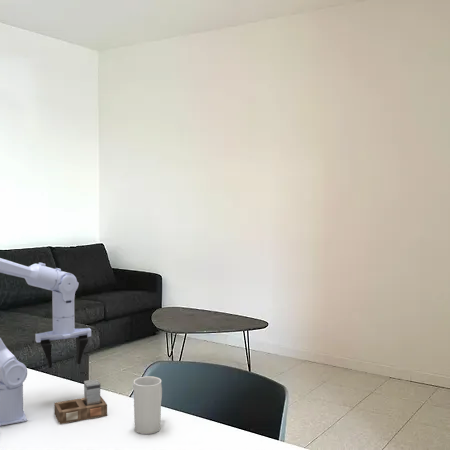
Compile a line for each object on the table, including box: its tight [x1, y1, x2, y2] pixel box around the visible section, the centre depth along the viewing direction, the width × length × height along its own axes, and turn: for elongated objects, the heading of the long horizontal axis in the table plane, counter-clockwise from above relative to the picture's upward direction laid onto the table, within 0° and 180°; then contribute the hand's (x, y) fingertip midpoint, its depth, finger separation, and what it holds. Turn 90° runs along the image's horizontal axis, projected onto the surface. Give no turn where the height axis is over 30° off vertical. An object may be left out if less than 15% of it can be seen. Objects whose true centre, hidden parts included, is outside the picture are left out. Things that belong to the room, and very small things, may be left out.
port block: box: [53, 395, 108, 425], centre depth 146 cm, size 12×7×3 cm, turn 117°
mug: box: [133, 376, 163, 435], centre depth 140 cm, size 10×7×12 cm, turn 156°
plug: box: [83, 378, 101, 406], centre depth 147 cm, size 3×3×8 cm
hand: (64, 364), depth 154 cm, fingers open, 7 cm apart
